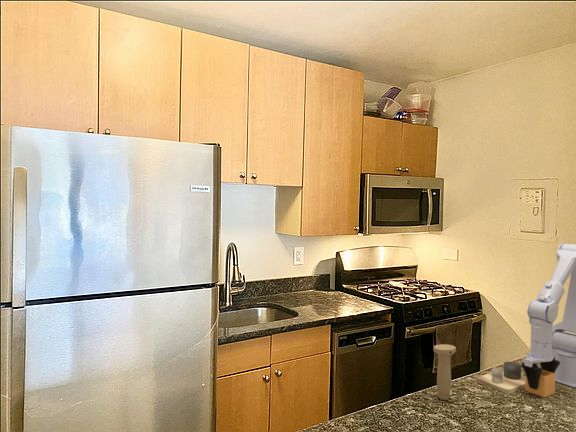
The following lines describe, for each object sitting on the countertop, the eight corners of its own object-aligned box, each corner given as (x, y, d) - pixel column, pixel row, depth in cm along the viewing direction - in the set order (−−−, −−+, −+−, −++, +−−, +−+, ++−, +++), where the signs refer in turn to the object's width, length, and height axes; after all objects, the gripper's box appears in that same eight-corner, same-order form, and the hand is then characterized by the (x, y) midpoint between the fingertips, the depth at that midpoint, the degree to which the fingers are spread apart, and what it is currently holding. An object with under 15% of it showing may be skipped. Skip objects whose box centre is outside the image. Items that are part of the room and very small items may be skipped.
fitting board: (501, 373, 150) (502, 357, 150) (534, 384, 141) (534, 368, 141) (475, 381, 143) (475, 365, 143) (508, 394, 134) (508, 376, 133)
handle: (458, 399, 129) (459, 348, 129) (440, 403, 127) (441, 351, 126) (446, 393, 134) (447, 343, 133) (429, 396, 131) (430, 345, 131)
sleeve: (535, 386, 139) (536, 367, 139) (555, 393, 135) (555, 373, 134) (525, 390, 136) (525, 371, 136) (544, 397, 131) (545, 377, 131)
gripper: (541, 334, 142) (540, 376, 143) (514, 341, 135) (513, 385, 135) (564, 340, 136) (563, 384, 137) (538, 347, 129) (536, 394, 129)
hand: (540, 385), depth 135 cm, fingers open, 7 cm apart
